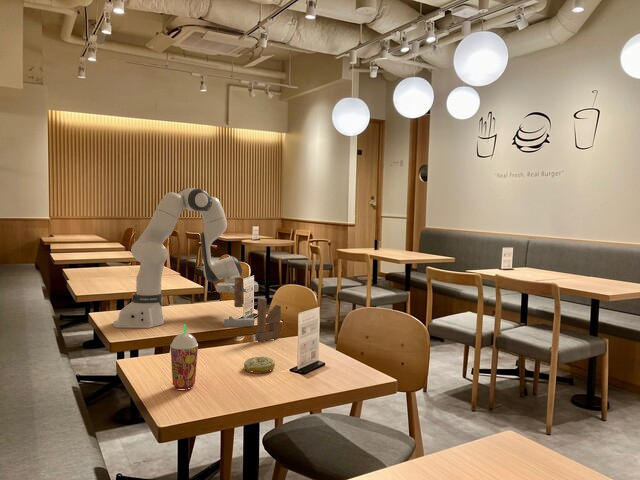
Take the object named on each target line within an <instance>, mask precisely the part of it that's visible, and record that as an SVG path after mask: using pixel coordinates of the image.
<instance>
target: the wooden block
mask: <svg viewBox="0 0 640 480" xmlns="http://www.w3.org/2000/svg"><path fill="white" fill-rule="evenodd" d="M281 309H282V307H281V305H279V304H275V305H274V306H273V307H272V309H271V310H270V312H269V313H268V314H267V298H265V297H259V298H257V316H256V317H257V318H256V319H257V321H256V323H257V325H256V331H255V335H254V336H255V338H254V339H255V341H257V342H265V341H271V340H276V339H280V338H281ZM267 325H268V329H267Z"/></svg>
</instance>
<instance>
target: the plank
mask: <svg viewBox="0 0 640 480" xmlns="http://www.w3.org/2000/svg"><path fill="white" fill-rule="evenodd" d="M243 278H244V277H243V276H240V277H235V295H234V302H233V303H234V305H233V306H234V307H235V308H244V307H243V306H244V293H243Z"/></svg>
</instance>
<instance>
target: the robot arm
mask: <svg viewBox="0 0 640 480" xmlns="http://www.w3.org/2000/svg"><path fill="white" fill-rule="evenodd" d="M184 211H189V212H199V213H200V214H201V216H202V220H203V225H204V228H203V231H202V232H201V234H200V242H201V243H200V244H201V253H202V254H201V255H202V261H203V276H204V278H205V279H206V281H208V282H210V283H216V282H217V281H218V282H217V283H216V284H215V285H214V287H215V289H216V290H215V291H216V292H217V293H230V294H231V295H234V296H235V277H242V274H243V269H242V266H241V263H240V262H239V260H238V258H236V257H235V256H232V255H231V256H228V257H225V258H222V259H219V260H214V261H212V256H211V255H212V253H211V246H212V244H213V242H214V241H216V240H217V239H218V238H220V237H221V236H223V234H224V233H225V232H226V230H227V228H228V222H227V216H226V213H225V211H224V208H223V206H222V204H221V201H220V200H219V198H217V197H215V196H211V195H209V193H208V192H207V191H206V190H205V189H201V188H196V187H189V188H188V187H187V188H182V189H181V190H179V191H178V192H174V191H171V192H167V193H165V194H164V196H163V197H162V199H161V200H160V201H159V203H158V205H157V207H156V209H155V211H154V213H153V214H152V217H151V219H150V221H149V223H148V225H147V226H146V228H145V229H144V231H143V232H142V233H141V234H140V236H139V238H138V239H137V240H136V241H135V242H134V243H133V244H132V245H131V248H130V250H131V251H130V253H131V255H132V257H133V259H135V260H136V261H137V262H139V263H140V266H139V270H138V274H137V275H136V279H135V280H136V281H135V282H136V288H135V290H136V292H135V293H134V292H132V294H131V295H130V296H131V302H130V303H129V304H126V306H124V307H123V308H122V309H121V310H120V311H119V313H118V318H117V319H116V320H114V321H113V323H112V326H113V327H114V328H120V329H121V328H123V329H125V328H127V329H133V328H134V329H150V328H153V327H157V326H162V325H164V324H165V319H164V315H163V310H162V309H163V308H162V304H163V293H162V275H163V270H164V266H165V262H166V261H167V260H168V257H169V253H168V252H169V251H168V249H167V247H166V246H165V245H164V243H165V241H167V239H168V238H169V237H170V236H171V235H172V233H173V231H174V229H175V227H176V225H177V222H178V220H179V219H180V217H181V214H182V212H184ZM244 278H245V277H243V279H244ZM223 279H224V282H219V281H220V280H223ZM253 281H254V293H255V292H256V293H257V292H259V284H258V282H257V281H255V280H253ZM243 292H246V289H244V288H243ZM246 293H247V292H246Z"/></svg>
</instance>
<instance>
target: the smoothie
mask: <svg viewBox="0 0 640 480" xmlns="http://www.w3.org/2000/svg"><path fill="white" fill-rule="evenodd" d="M186 328H187V324H186V323H185V324H183V332H182V333H179V334H177V335H176V336H175V337H174V338H173V340H172V342H171V343H170V358H171V378H172V385H173V387H175V388H176V389H188V388H191V387H193V388H194V385H195V384H196V375H197V374H196V373H197V362H198V361H197V360H198V350H199V343H198V342H197V339H196V337H195V336H194V335H192V333H191V334H190V333H188V332H187V331H186V330H187V329H186ZM175 388H174V389H175ZM176 389H175V390H176Z"/></svg>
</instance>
